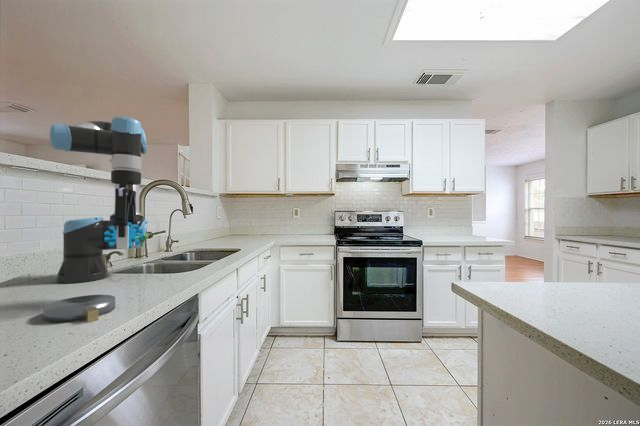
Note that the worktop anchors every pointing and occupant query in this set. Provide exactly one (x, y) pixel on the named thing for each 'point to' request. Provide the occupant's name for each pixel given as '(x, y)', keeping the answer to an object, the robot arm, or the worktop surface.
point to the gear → (131, 235)
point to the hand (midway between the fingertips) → (126, 246)
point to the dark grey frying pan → (79, 308)
